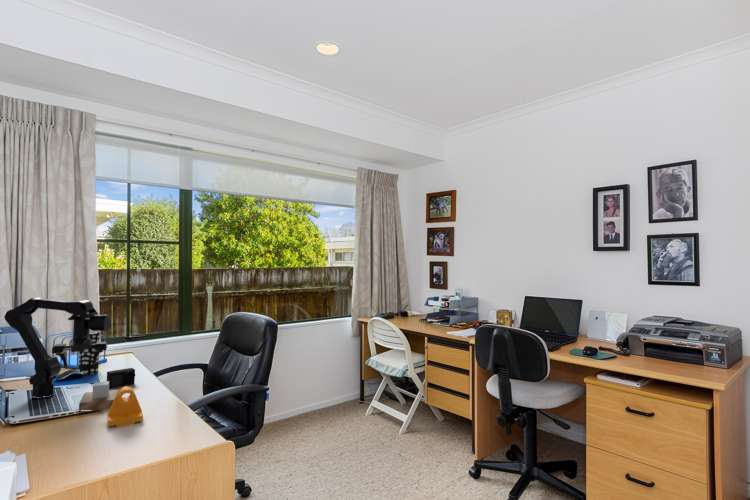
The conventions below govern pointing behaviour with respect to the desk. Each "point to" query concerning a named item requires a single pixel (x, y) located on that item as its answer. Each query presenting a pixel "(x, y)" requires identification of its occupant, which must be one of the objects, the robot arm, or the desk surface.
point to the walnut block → (97, 401)
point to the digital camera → (121, 377)
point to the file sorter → (73, 359)
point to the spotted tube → (89, 356)
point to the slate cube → (100, 389)
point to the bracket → (124, 409)
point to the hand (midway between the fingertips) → (79, 367)
